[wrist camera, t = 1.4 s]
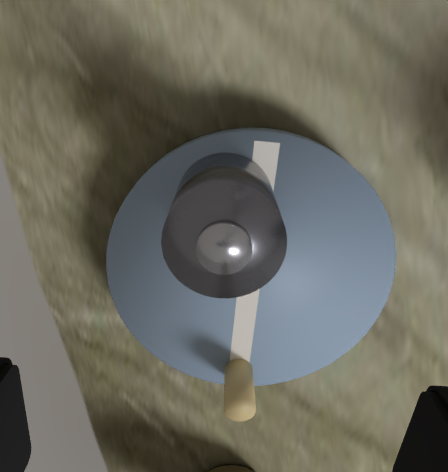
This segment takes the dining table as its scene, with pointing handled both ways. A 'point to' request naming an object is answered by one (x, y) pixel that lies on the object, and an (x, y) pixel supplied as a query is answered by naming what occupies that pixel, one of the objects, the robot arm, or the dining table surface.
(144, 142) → the dining table surface
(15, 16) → the dining table surface
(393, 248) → the turntable
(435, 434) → the robot arm
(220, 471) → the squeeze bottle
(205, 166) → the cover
